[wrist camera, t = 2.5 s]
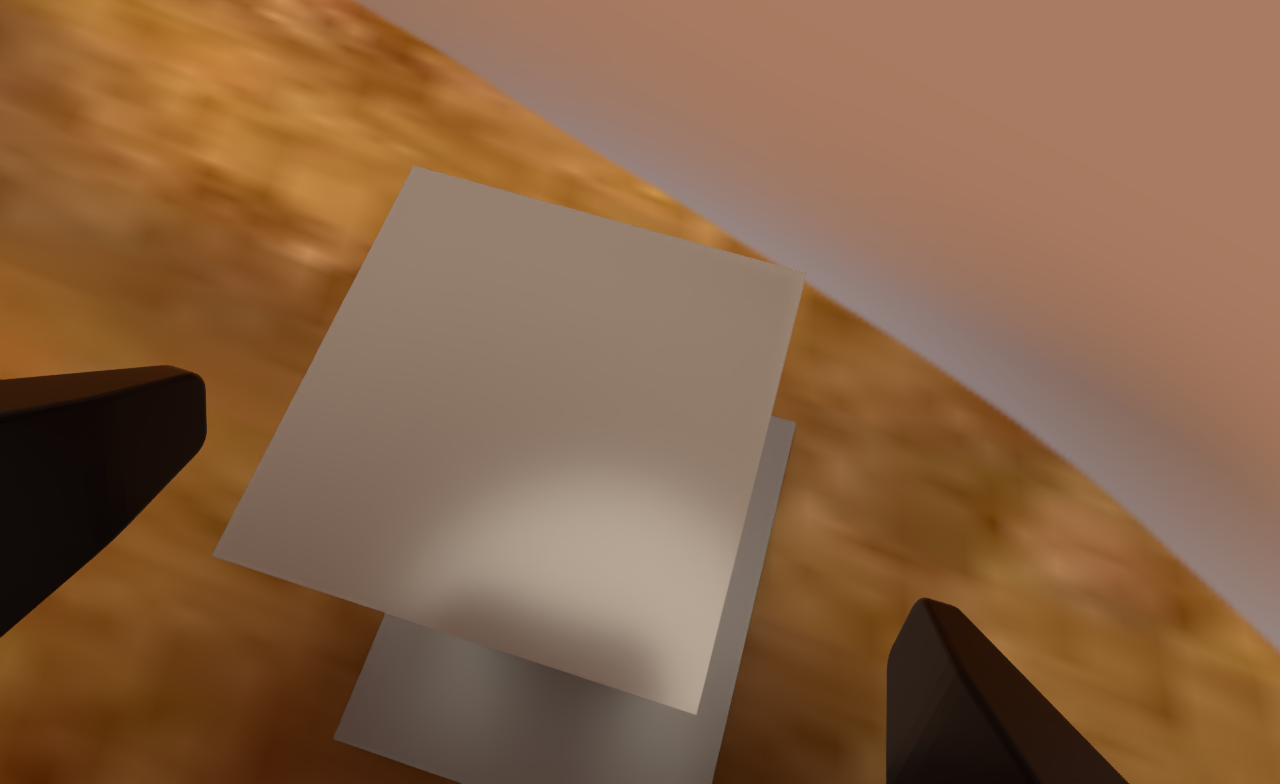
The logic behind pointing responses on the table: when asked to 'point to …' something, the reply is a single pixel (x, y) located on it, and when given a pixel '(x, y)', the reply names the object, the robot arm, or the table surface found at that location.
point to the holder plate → (555, 693)
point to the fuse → (530, 435)
